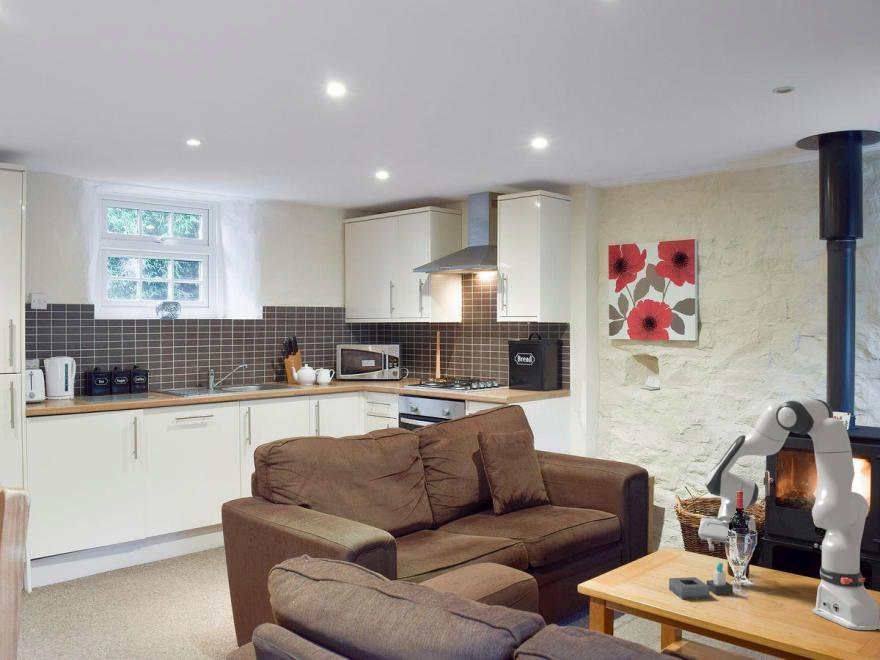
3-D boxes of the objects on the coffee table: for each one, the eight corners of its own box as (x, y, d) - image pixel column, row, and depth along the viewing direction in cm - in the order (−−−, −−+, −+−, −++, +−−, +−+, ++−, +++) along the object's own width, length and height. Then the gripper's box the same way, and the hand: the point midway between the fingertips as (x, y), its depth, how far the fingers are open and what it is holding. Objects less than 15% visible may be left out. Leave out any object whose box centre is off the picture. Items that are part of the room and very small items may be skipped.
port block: (709, 598, 260) (709, 586, 260) (681, 599, 258) (682, 587, 258) (695, 588, 270) (695, 577, 270) (669, 589, 268) (669, 578, 268)
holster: (732, 594, 264) (732, 585, 264) (715, 594, 263) (715, 586, 263) (723, 588, 270) (723, 579, 270) (706, 588, 269) (706, 580, 269)
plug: (725, 592, 265) (725, 564, 265) (717, 593, 265) (717, 564, 265) (721, 589, 268) (721, 561, 268) (713, 590, 268) (713, 562, 268)
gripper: (700, 510, 286) (693, 542, 277) (758, 518, 275) (752, 551, 266) (702, 520, 289) (696, 551, 281) (759, 527, 278) (755, 561, 270)
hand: (724, 551), depth 274 cm, fingers open, 8 cm apart
